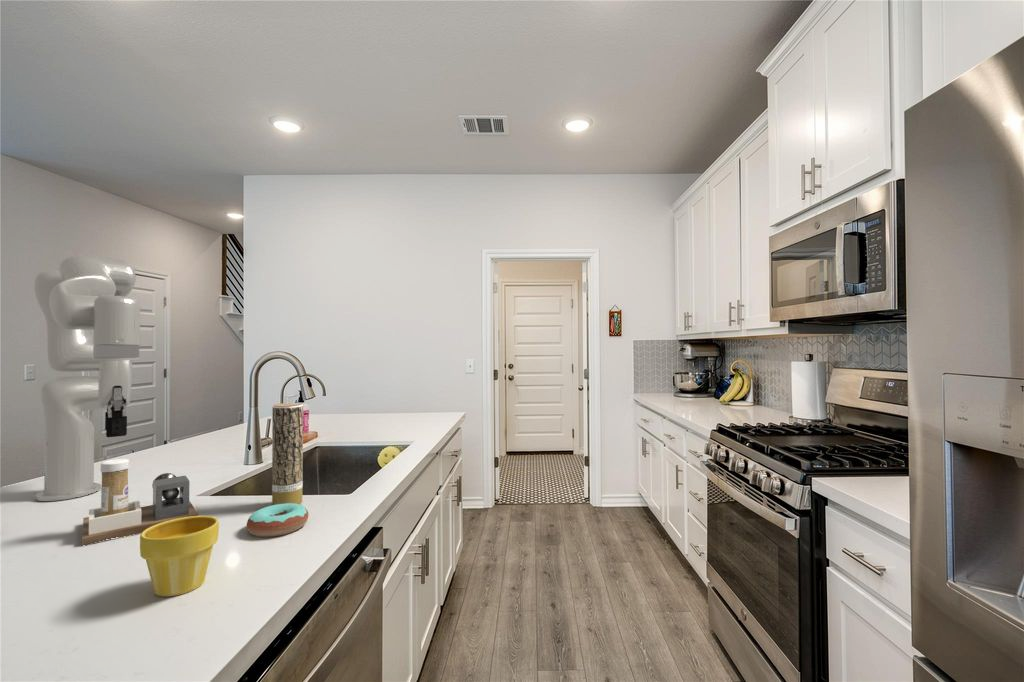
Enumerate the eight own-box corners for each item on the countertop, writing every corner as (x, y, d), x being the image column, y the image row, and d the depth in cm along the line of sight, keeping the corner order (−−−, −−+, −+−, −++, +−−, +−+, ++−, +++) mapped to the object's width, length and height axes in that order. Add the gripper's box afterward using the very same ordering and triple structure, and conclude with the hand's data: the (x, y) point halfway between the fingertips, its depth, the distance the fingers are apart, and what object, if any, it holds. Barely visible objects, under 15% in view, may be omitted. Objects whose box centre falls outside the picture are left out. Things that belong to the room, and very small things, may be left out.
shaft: (152, 496, 108) (152, 475, 108) (177, 491, 112) (178, 471, 112) (157, 507, 100) (157, 485, 100) (184, 502, 104) (184, 480, 104)
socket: (88, 523, 96) (89, 509, 97) (138, 513, 102) (138, 500, 102) (88, 535, 90) (88, 520, 91) (141, 524, 96) (141, 510, 96)
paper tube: (308, 501, 114) (308, 403, 114) (287, 511, 108) (287, 406, 108) (287, 499, 116) (288, 402, 117) (265, 507, 110) (266, 405, 110)
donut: (318, 527, 98) (318, 508, 98) (260, 545, 89) (260, 525, 89) (293, 514, 106) (293, 497, 106) (237, 530, 97) (237, 511, 97)
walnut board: (83, 524, 100) (83, 517, 100) (187, 504, 113) (187, 498, 113) (82, 546, 89) (82, 538, 89) (198, 520, 102) (198, 514, 102)
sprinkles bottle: (126, 524, 96) (127, 461, 96) (98, 529, 93) (98, 464, 93) (130, 517, 100) (130, 457, 100) (102, 522, 97) (103, 460, 97)
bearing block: (152, 513, 102) (153, 480, 102) (185, 507, 106) (185, 475, 106) (155, 521, 98) (155, 486, 98) (189, 513, 102) (189, 480, 102)
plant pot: (188, 566, 80) (189, 511, 80) (232, 575, 77) (233, 518, 77) (123, 597, 70) (123, 534, 70) (170, 609, 67) (171, 543, 67)
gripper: (92, 352, 101) (91, 429, 101) (93, 354, 88) (91, 441, 88) (136, 352, 106) (135, 425, 106) (142, 354, 93) (141, 436, 93)
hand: (115, 432), depth 97 cm, fingers open, 9 cm apart
